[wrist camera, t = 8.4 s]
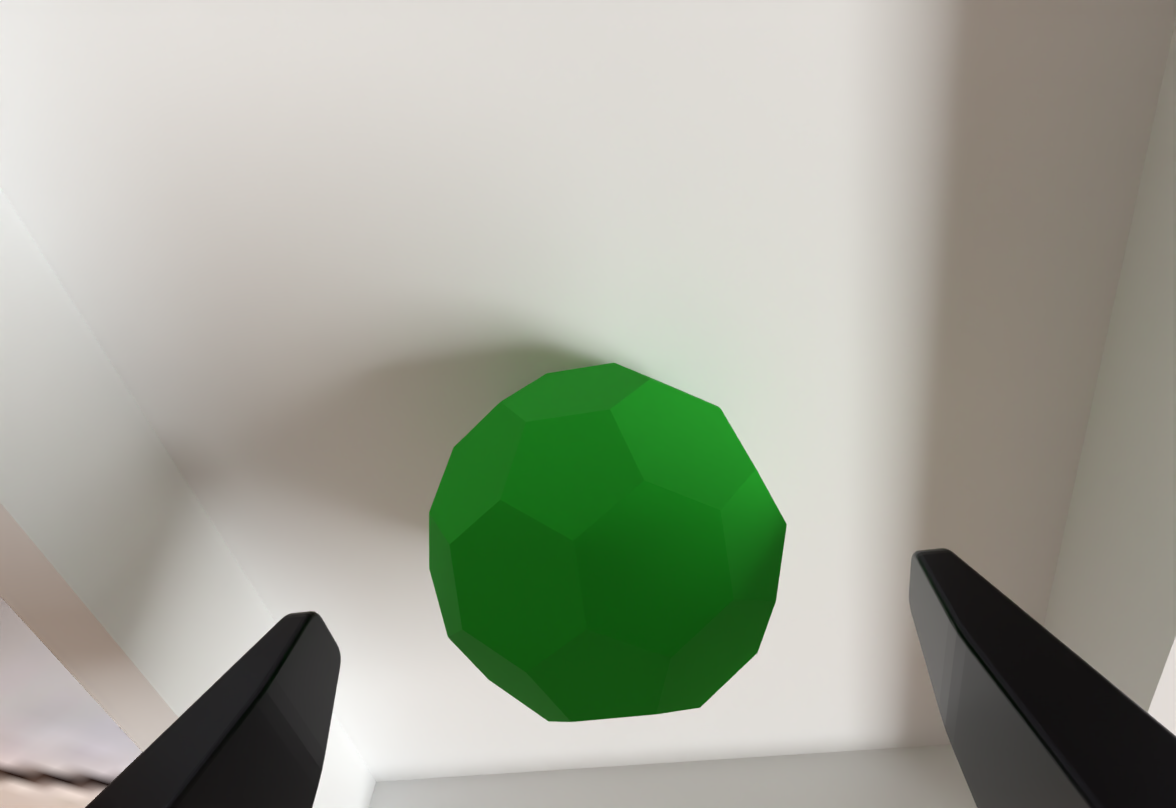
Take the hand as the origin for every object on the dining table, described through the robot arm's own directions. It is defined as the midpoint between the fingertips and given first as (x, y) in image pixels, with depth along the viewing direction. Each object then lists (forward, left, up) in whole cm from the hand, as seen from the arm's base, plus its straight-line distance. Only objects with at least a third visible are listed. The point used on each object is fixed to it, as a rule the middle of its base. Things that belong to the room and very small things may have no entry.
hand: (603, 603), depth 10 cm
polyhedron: (0, 0, -4) cm, 4 cm away
